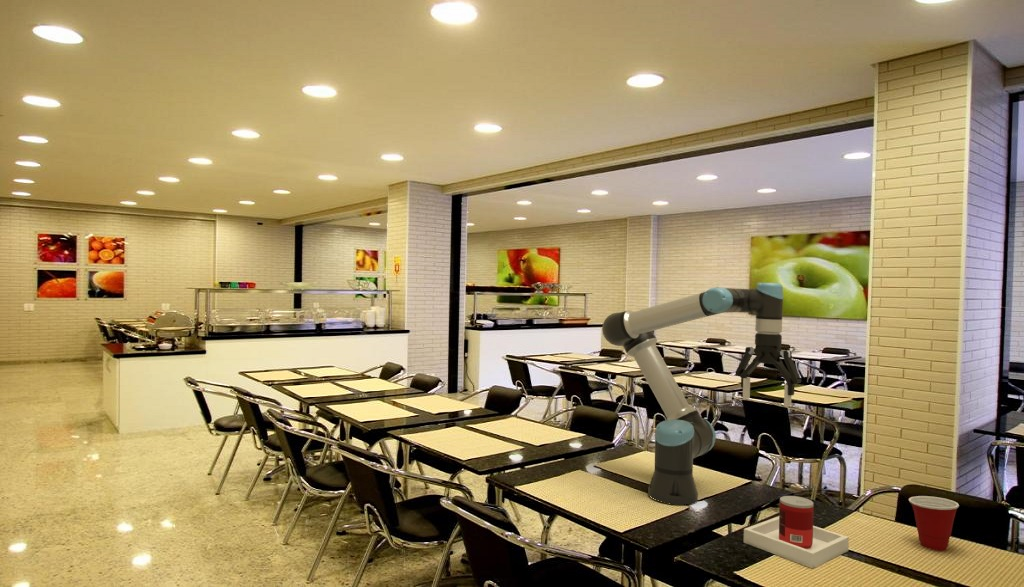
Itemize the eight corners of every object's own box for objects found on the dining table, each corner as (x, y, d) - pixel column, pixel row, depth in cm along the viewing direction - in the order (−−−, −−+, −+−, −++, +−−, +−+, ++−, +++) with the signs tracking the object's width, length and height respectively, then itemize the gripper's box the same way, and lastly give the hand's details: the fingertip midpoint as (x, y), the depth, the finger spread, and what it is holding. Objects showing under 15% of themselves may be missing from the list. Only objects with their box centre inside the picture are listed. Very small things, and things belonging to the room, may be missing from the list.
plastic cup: (910, 534, 166) (911, 490, 166) (959, 545, 160) (960, 500, 160) (904, 546, 158) (905, 500, 158) (956, 559, 151) (957, 510, 151)
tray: (743, 542, 158) (743, 528, 158) (780, 527, 169) (781, 515, 169) (812, 568, 144) (812, 553, 144) (848, 550, 155) (848, 537, 155)
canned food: (819, 547, 154) (820, 504, 154) (794, 551, 151) (795, 507, 151) (796, 535, 161) (797, 494, 161) (772, 539, 159) (773, 497, 159)
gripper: (815, 336, 179) (812, 408, 179) (739, 330, 199) (736, 395, 199) (802, 336, 175) (799, 410, 175) (725, 330, 195) (723, 396, 195)
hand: (766, 402), depth 187 cm, fingers open, 13 cm apart
